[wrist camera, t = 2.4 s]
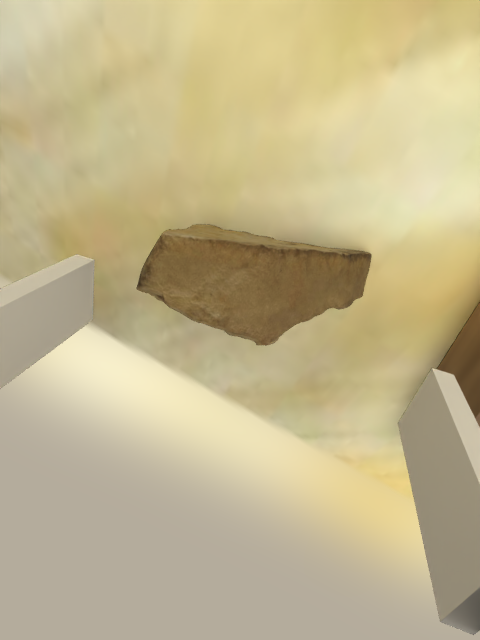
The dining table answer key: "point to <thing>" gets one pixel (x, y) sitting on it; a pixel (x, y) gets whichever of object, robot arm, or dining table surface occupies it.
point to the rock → (250, 280)
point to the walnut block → (466, 362)
